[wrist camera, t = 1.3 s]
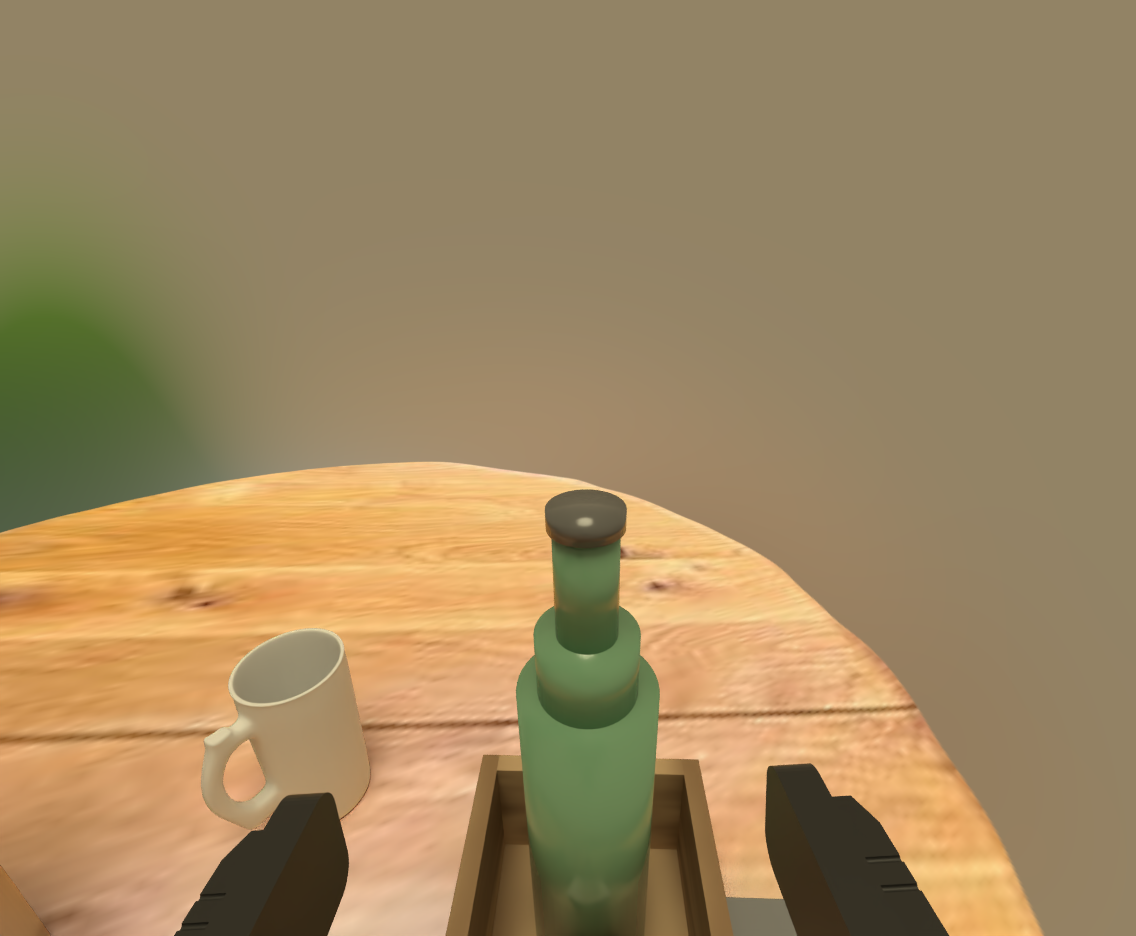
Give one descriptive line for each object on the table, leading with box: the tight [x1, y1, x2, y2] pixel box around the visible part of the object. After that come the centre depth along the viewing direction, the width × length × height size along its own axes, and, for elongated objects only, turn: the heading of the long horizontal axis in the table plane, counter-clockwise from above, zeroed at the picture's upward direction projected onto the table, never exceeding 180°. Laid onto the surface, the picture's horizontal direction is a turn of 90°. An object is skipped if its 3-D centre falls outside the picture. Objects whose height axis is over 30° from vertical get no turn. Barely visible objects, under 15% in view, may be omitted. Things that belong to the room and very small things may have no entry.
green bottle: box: [516, 490, 660, 936], centre depth 25 cm, size 6×6×27 cm
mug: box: [201, 628, 370, 830], centre depth 36 cm, size 10×7×12 cm, turn 151°
